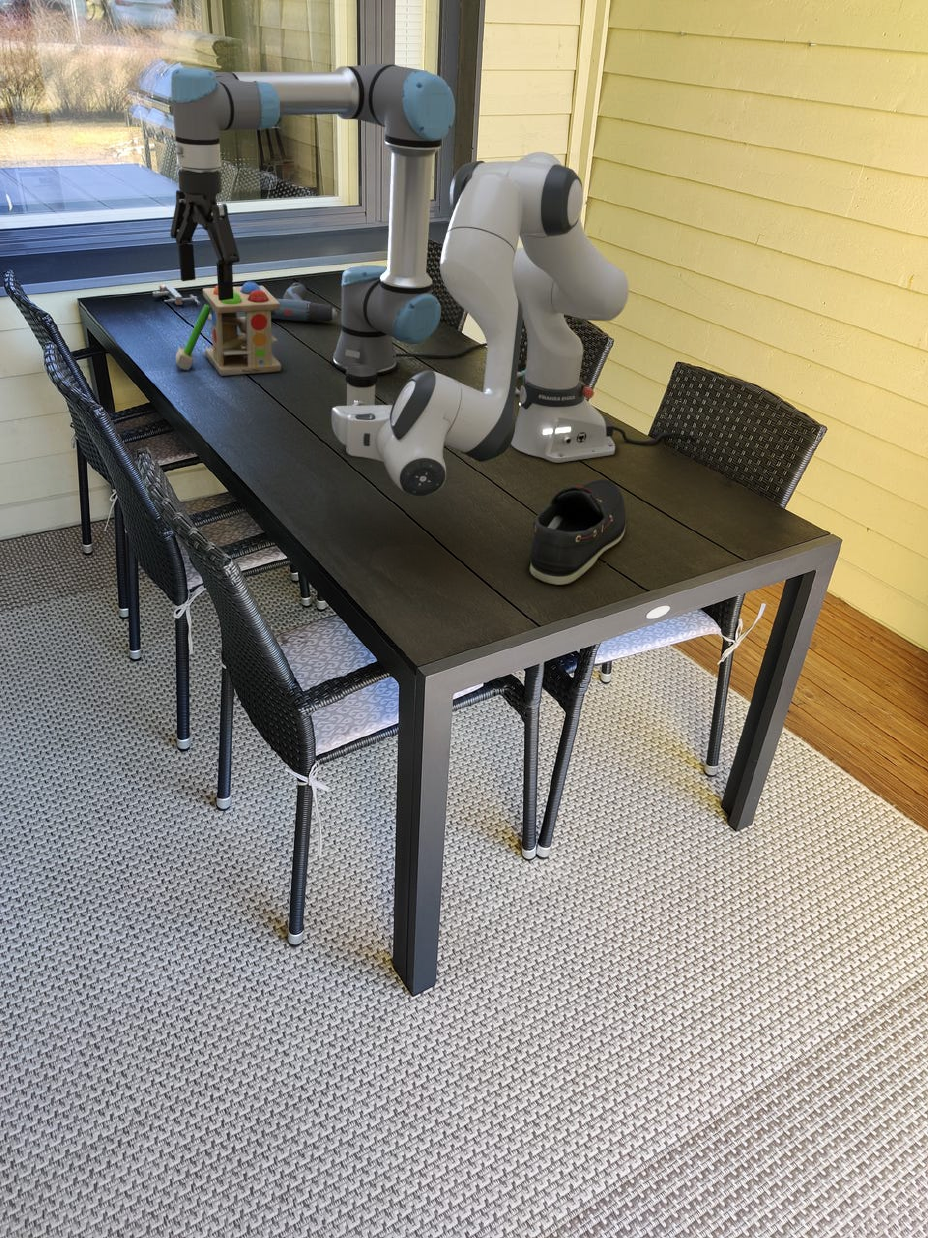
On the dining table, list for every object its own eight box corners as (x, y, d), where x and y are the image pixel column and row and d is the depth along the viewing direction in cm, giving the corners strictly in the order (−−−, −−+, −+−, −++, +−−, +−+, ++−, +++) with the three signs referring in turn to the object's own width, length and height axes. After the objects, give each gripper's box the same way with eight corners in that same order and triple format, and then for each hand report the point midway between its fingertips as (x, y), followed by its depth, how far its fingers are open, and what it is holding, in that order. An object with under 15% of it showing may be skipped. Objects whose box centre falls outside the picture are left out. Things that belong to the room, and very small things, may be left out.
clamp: (148, 285, 268) (184, 283, 272) (149, 293, 269) (185, 291, 274) (164, 302, 257) (201, 299, 262) (164, 310, 259) (202, 307, 263)
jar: (340, 451, 197) (341, 372, 188) (357, 442, 201) (359, 366, 192) (361, 459, 195) (363, 380, 186) (378, 450, 199) (381, 373, 189)
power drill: (344, 304, 276) (335, 327, 259) (277, 298, 275) (264, 321, 258) (344, 285, 273) (335, 306, 256) (277, 279, 272) (264, 300, 255)
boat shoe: (648, 521, 183) (657, 470, 178) (567, 591, 159) (574, 534, 154) (587, 503, 189) (593, 452, 184) (499, 567, 165) (504, 512, 160)
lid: (339, 381, 189) (339, 370, 188) (359, 373, 193) (359, 363, 192) (363, 389, 186) (363, 379, 185) (383, 381, 190) (383, 371, 189)
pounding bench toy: (183, 379, 220) (176, 299, 210) (169, 357, 231) (162, 280, 221) (282, 371, 230) (280, 294, 220) (264, 350, 240) (262, 276, 230)
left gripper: (145, 155, 179) (155, 274, 191) (217, 183, 164) (224, 310, 176) (182, 153, 183) (190, 269, 195) (256, 180, 169) (260, 304, 181)
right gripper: (464, 416, 160) (443, 385, 171) (339, 418, 155) (326, 386, 166) (461, 451, 163) (441, 419, 174) (339, 455, 158) (326, 422, 169)
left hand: (206, 289), depth 186 cm, fingers open, 13 cm apart
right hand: (384, 403), depth 170 cm, fingers open, 8 cm apart
